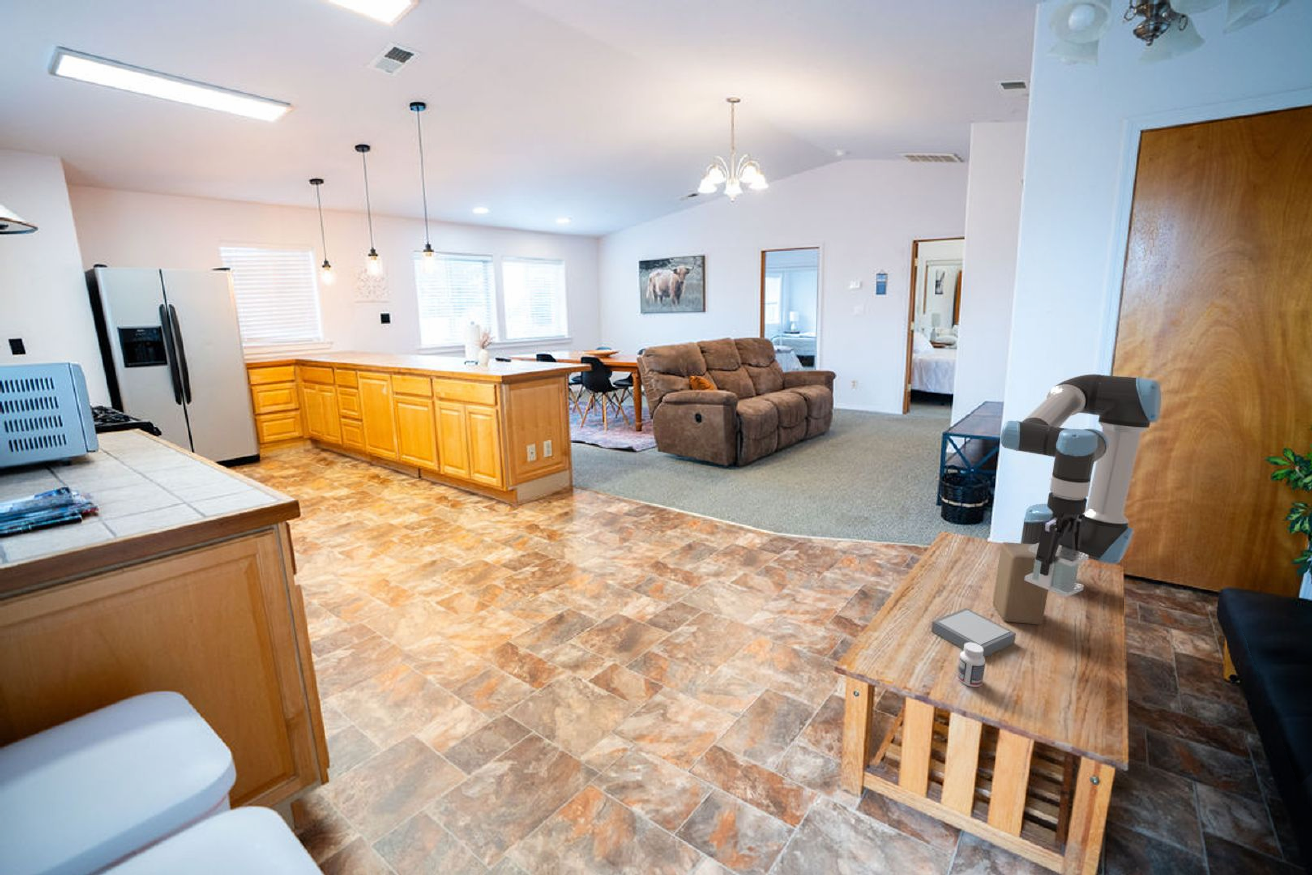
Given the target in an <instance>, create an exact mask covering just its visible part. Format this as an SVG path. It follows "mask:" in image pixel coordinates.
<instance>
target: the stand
mask: <svg viewBox="0 0 1312 875" xmlns="http://www.w3.org/2000/svg"><path fill="white" fill-rule="evenodd" d="M930 630H931V631H930V632H932V633H934V634H935V635H938V636H939V637H941V638H942V639H944V640H946V641H947V642H949V643H951V644H953V645H954V646H956V647H958V648H960V649H962V650H963V651H964V645H965V643H968V642H971V643H976V644H978V645H980V646H982V647H983V649H984V651H983V657H984V658H985V657H987V656H990V655H992V654H994V653H997V652H999V651H1001V650H1004V649H1005V648H1007V647H1009V646H1012V645H1014V644H1015V641H1016V634H1017V633H1016V632H1015V631H1013V630H1010V629H1009V628H1007V627H1005V626H1003V625H1001V624H999V623H998V622H997V623H996V622H994V621H993V620H991V619H990V618H989V619H988V618H987V617H985V616H983V615H981V614H979V613H978V612H975V611H974V610H973V611H972V610H971V609H969V608H967V607H965V608H963V609H960V610H957V611H954V612H952V613H949V614H947V615H945V616H943V617H940V618H937V619H935V620H933V621H932V622H931V629H930Z"/></svg>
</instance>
